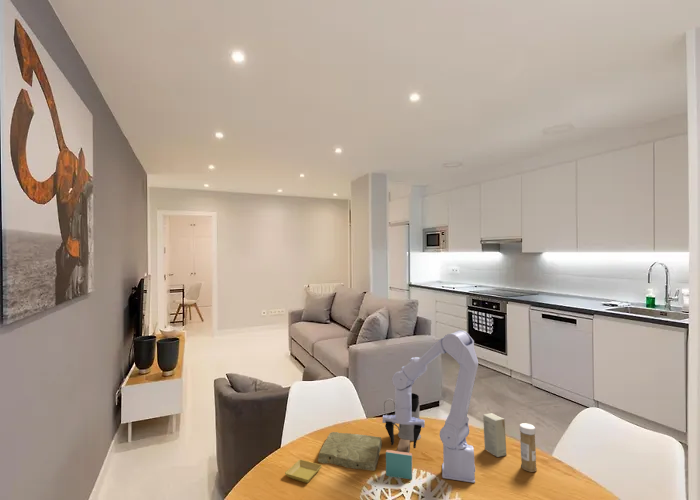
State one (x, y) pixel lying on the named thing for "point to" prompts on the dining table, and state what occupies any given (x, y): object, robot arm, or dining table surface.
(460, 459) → the robot arm
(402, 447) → the walnut stick
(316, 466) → the saucer
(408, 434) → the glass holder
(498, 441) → the skincare box
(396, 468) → the glazed tile
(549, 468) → the dining table surface
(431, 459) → the dining table surface
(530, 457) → the sprinkles bottle
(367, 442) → the decorative tile
